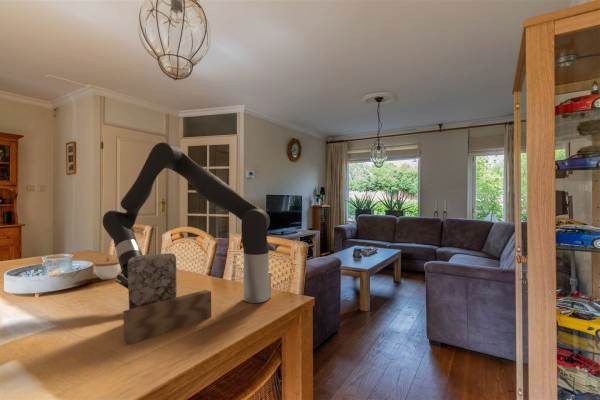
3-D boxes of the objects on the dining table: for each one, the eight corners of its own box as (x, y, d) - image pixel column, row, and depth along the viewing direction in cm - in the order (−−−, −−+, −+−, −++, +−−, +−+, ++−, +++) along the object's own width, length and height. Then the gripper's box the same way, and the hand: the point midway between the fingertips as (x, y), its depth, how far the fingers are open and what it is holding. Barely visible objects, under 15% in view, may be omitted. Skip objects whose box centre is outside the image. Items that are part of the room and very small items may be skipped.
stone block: (127, 328, 86) (127, 259, 86) (130, 319, 92) (129, 255, 92) (177, 320, 91) (176, 255, 91) (176, 312, 98) (176, 251, 97)
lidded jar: (118, 273, 149) (118, 254, 149) (123, 277, 141) (123, 258, 141) (92, 277, 141) (92, 257, 141) (96, 282, 133) (96, 261, 133)
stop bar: (206, 314, 96) (206, 289, 96) (211, 316, 94) (211, 291, 94) (123, 341, 78) (123, 311, 78) (127, 345, 76) (127, 314, 76)
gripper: (111, 251, 100) (124, 296, 92) (152, 246, 110) (167, 286, 102) (106, 264, 104) (118, 308, 96) (146, 259, 114) (160, 298, 106)
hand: (143, 297), depth 99 cm, fingers closed
